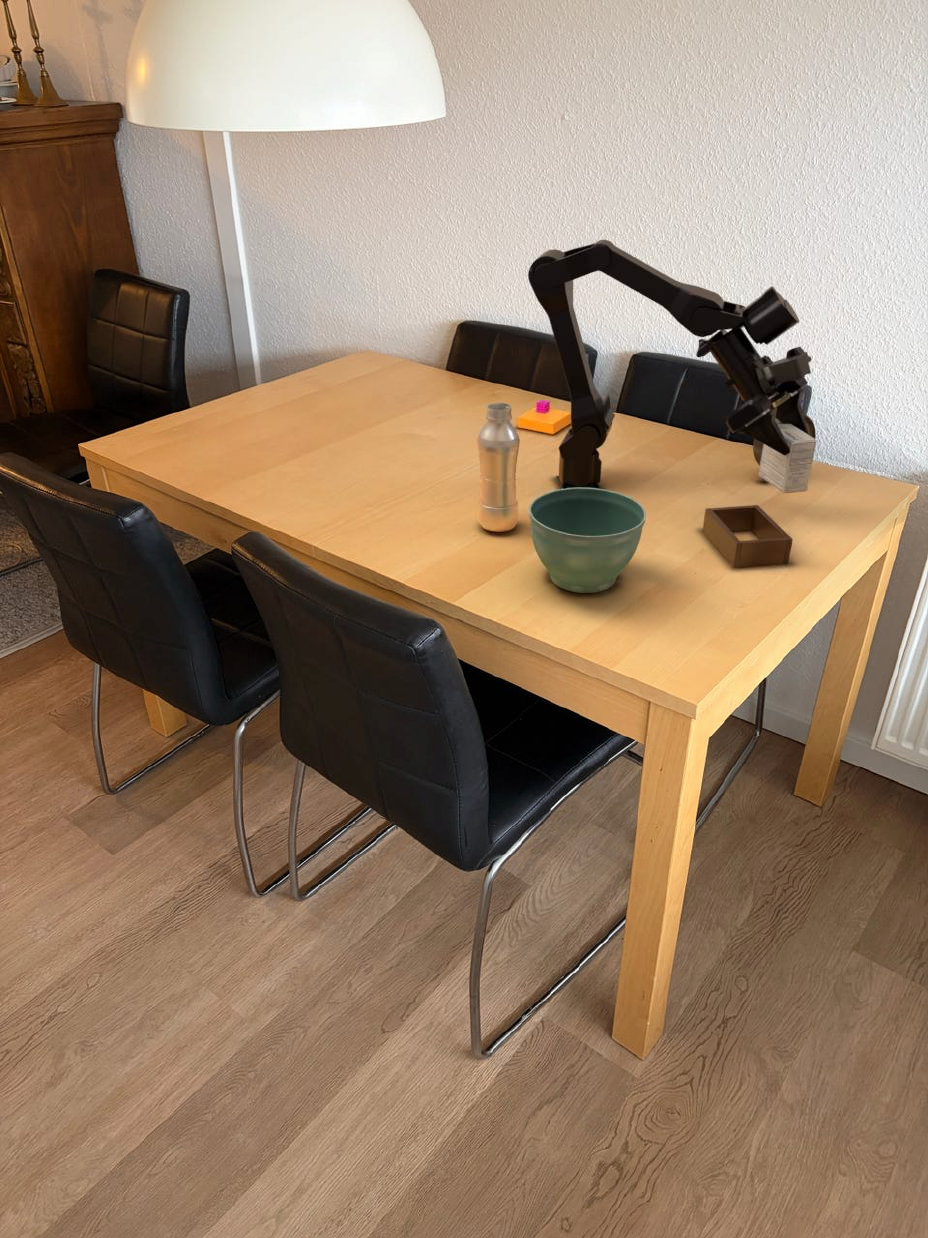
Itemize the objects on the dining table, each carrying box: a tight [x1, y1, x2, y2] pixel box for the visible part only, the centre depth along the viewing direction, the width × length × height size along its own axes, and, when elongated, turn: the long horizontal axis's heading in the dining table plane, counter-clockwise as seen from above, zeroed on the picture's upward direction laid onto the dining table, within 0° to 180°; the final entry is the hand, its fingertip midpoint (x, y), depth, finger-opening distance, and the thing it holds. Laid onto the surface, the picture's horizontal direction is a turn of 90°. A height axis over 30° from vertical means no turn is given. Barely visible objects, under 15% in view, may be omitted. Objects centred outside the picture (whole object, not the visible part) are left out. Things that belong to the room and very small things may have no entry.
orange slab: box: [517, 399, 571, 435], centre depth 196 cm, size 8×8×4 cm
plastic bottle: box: [476, 402, 521, 533], centre depth 151 cm, size 6×7×20 cm
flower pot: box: [528, 487, 647, 594], centre depth 138 cm, size 16×16×11 cm
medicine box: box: [758, 424, 817, 494], centre depth 155 cm, size 8×4×9 cm, turn 15°
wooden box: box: [702, 504, 793, 569], centre depth 149 cm, size 9×13×4 cm
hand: (797, 446), depth 153 cm, fingers closed on medicine box, 8 cm apart
